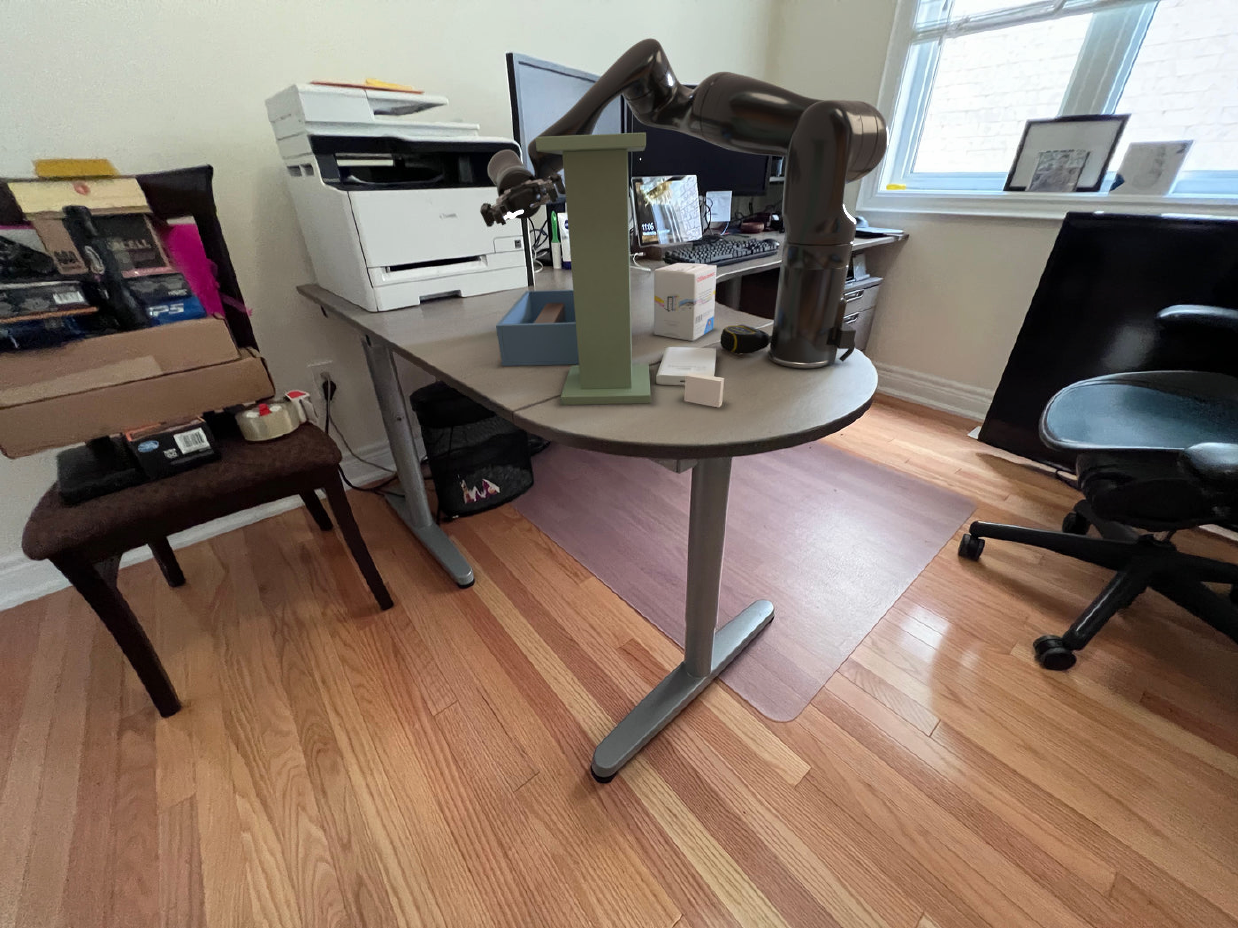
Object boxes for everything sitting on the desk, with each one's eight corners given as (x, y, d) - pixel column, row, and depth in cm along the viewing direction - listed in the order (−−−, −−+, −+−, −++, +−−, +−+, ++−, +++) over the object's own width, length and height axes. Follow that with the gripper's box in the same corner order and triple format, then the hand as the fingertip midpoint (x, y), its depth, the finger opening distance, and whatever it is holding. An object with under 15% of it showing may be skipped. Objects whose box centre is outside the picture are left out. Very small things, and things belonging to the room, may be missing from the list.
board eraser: (566, 323, 99) (564, 302, 96) (551, 356, 81) (548, 332, 79) (548, 323, 99) (546, 303, 97) (530, 356, 82) (527, 332, 80)
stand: (648, 366, 77) (647, 139, 62) (650, 409, 64) (651, 132, 48) (572, 368, 78) (553, 143, 62) (559, 411, 64) (530, 137, 49)
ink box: (675, 323, 98) (677, 261, 91) (714, 329, 93) (718, 264, 87) (652, 335, 92) (652, 268, 86) (692, 342, 87) (695, 272, 81)
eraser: (719, 407, 64) (721, 381, 62) (684, 401, 66) (685, 375, 64) (722, 404, 65) (724, 377, 63) (687, 398, 67) (688, 372, 65)
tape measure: (770, 353, 81) (773, 330, 79) (737, 361, 78) (740, 337, 76) (742, 342, 86) (744, 321, 84) (711, 349, 83) (712, 327, 81)
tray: (595, 322, 100) (594, 289, 97) (585, 364, 79) (582, 323, 76) (530, 324, 101) (525, 291, 97) (502, 366, 80) (495, 325, 76)
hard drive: (715, 358, 80) (713, 387, 70) (665, 356, 81) (655, 384, 71) (716, 348, 79) (714, 376, 69) (666, 346, 81) (655, 373, 70)
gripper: (471, 185, 85) (471, 199, 73) (546, 152, 85) (559, 160, 72) (492, 229, 90) (495, 249, 77) (563, 197, 90) (578, 213, 77)
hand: (526, 206), depth 75 cm, fingers open, 8 cm apart
